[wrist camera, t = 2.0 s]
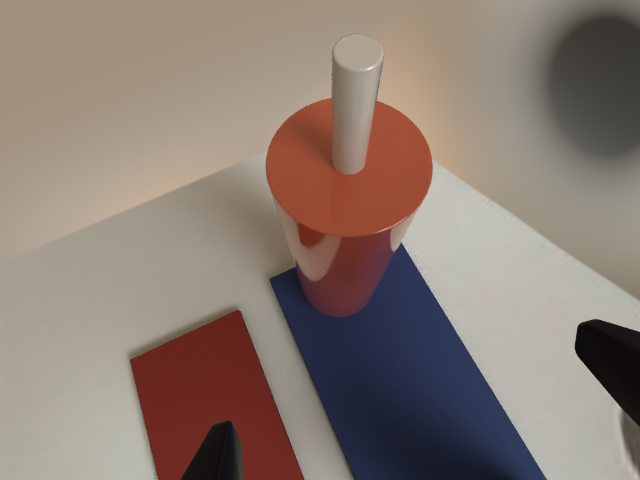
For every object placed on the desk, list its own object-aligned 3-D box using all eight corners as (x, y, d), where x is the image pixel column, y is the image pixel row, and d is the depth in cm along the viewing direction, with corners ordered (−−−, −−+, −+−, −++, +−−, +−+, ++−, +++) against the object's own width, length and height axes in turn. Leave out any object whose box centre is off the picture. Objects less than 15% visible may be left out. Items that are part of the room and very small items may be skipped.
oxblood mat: (337, 565, 17) (337, 570, 16) (203, 646, 16) (199, 654, 15) (240, 310, 22) (238, 309, 21) (133, 360, 21) (129, 359, 20)
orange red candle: (389, 297, 21) (542, 92, 6) (320, 330, 21) (293, 198, 5) (353, 233, 23) (402, -52, 8) (289, 263, 22) (200, 14, 7)
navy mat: (591, 558, 17) (598, 564, 16) (435, 664, 15) (438, 673, 15) (388, 226, 24) (390, 223, 23) (270, 280, 22) (269, 278, 22)
